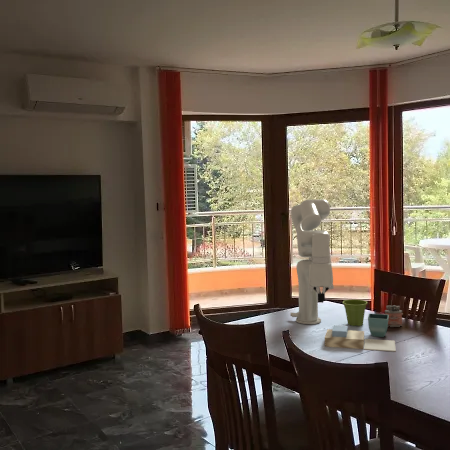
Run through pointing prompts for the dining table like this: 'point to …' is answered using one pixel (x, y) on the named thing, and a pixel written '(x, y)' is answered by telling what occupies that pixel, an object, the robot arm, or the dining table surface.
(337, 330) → the light blue block
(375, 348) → the mat
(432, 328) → the dining table surface
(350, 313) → the plant pot
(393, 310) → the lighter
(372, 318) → the flower pot
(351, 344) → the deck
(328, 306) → the dining table surface
